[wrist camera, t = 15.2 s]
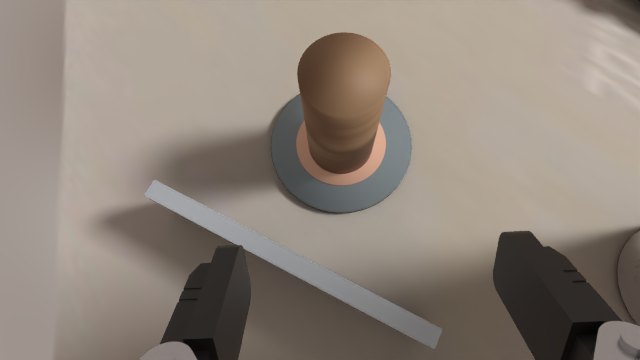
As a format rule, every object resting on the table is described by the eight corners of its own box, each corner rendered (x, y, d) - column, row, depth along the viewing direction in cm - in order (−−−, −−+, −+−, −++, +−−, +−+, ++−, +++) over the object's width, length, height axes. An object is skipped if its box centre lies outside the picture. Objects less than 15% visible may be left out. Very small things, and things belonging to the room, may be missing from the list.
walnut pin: (383, 130, 31) (406, 53, 21) (355, 184, 30) (365, 129, 20) (326, 104, 32) (324, 19, 22) (297, 156, 30) (280, 90, 21)
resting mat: (432, 116, 32) (433, 113, 31) (374, 238, 29) (375, 236, 28) (311, 65, 33) (310, 61, 33) (246, 175, 31) (245, 172, 30)
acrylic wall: (423, 324, 27) (443, 329, 22) (417, 341, 27) (434, 349, 22) (182, 198, 30) (154, 179, 26) (174, 212, 30) (143, 195, 25)
